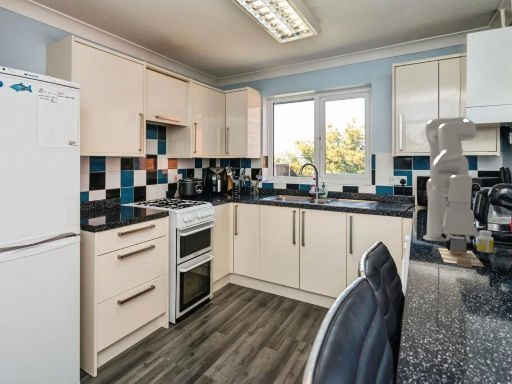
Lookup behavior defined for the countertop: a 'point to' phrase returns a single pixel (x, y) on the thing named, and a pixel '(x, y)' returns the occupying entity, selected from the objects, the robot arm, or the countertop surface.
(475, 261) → the birch board
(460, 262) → the walnut offcut
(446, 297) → the countertop surface
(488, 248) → the supplement bottle
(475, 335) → the countertop surface
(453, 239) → the block
